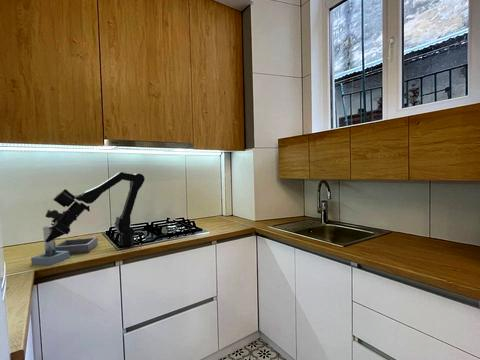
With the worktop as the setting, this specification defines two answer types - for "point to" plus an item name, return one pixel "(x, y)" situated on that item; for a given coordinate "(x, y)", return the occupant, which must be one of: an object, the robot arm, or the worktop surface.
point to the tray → (77, 245)
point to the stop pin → (50, 246)
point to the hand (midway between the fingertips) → (45, 241)
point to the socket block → (50, 258)
